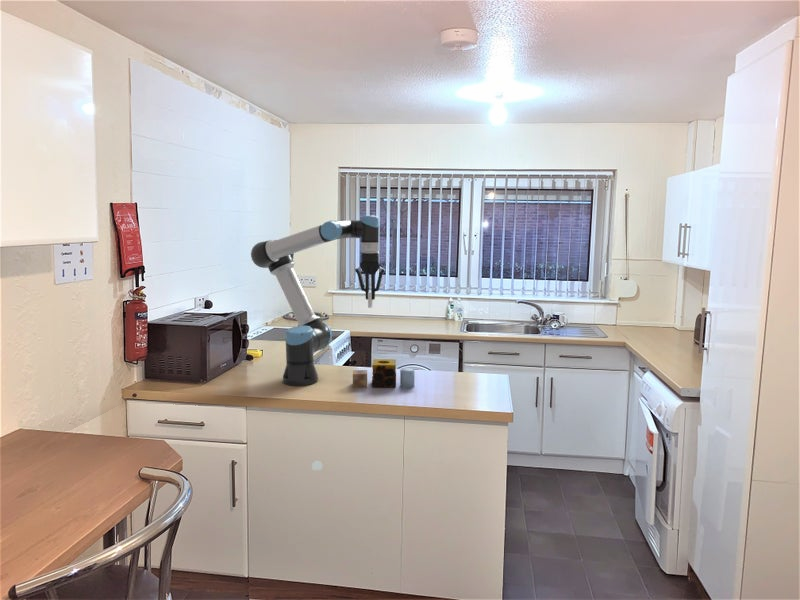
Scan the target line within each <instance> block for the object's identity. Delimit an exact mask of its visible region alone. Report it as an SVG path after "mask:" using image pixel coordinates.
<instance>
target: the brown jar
mask: <svg viewBox="0 0 800 600" xmlns="http://www.w3.org/2000/svg"><path fill="white" fill-rule="evenodd" d="M359 388H360V389H363V388H365V389H367V388H368V370H367V369H360V370H359V369H356V370H355V369H353V370H352V389H359Z"/></svg>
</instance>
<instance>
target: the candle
mask: <svg viewBox="0 0 800 600" xmlns="http://www.w3.org/2000/svg"><path fill="white" fill-rule="evenodd" d="M396 361H397V360H396V359H392V358H389V359H388V358H381V359H379V358H378V359H377V358H375V359H373V360H372V366H371V367H372V375H371V377H372V378H371V387H372V388H375V389H376V388H377V389H379V388H381V389H383V388H386V389H387V388H388V389H389V388H391V389H395V388H397V370H396V369H397V368H396V365H397V364H396Z"/></svg>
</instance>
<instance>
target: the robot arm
mask: <svg viewBox="0 0 800 600" xmlns="http://www.w3.org/2000/svg"><path fill="white" fill-rule="evenodd" d="M379 224H380V223H379V217H378V216H377V215H361V216H360V219H359V220H357V219H354V220H353V219H347V220H346V219H338V220H329V221H325V222H324V223H323V224H320V225H317V226H315V227H312V228H311V227H310V228H309V229H306V230H302V231H299V232H296V233H294V234H293V233H292V234H291V235H289V236H285V237H282V238H279V239H274V240H273V239H269V240H266V241H260V242H258V243H256V244H254V246H253V247H252V249H251V250H250V251H251V252H250V257H251V261H252V262H253V264H254V265H256V266H257V267H259V268H263V269H266V268H267V269H268V271H269V273H270V274H271V275H273V276H275V277H276V280H277V281H278V284H279V287H280V288H281V290H282V292H283V293H284V296H285V298H286V300H287V302H288V304H289V307H290V309H291V311H292V313H293V315H294V318H295V319H296V322H297V326H292V327H291V328H287V330H286V333H285V339H284V340H285V356H286V357H285V358H286V359H285V361H286V365H285V367H284V370H283V371H284V372H283V375H282V383H284V384H285V385H288V386H296V387H297V386H310V385H314V384H315V383H317V382H318V381H319V375H318V371H317V369H316V366H315V363H314V361H315V360H314V353H317V352H319V351H322V350H323V349H325V348H327V347H328V346H329V345H330V344H331V343H332V339H333V331H332V329H331V327H330V326H329V324H326V323H325V322H323V320H322V318H321V317H320V316H319V315H316V313H315V311H314V309H313V307H312V305H311V303H310V300H309V299H308V297H307V295H306V292H305V290H304V287H303V285H302V284H301V281H300V280H299V277H298V276H297V273H296V271H295V269H294V266H295V261H294V255H295V254H296V253H298V252H302V251H304V250H308V249H310V248H314V247H317V246H319V245H322V244H325V243H329V242H332V241H335V240H340V239H341V240H342V239H360V240H361V241H360V248H361V249H360V250H361V251H360V252H361V253H360V265H359V266H358V267H356V268H355V269H354V271H355V273H356V274H357V278H358V281H359V286H360V290H361V291H362V292H365V300H366V301H367V307H368V309H369V308H371V309H372V308H373V300H374V301H375V299H376V292H378V291H379V290H380V287H381V283H382V280H383V274H384V272H386V268H383V267H381V264H380V254H379V252H380V251H379V250H380V246H379V245H380V243H379V242H380V239H379V237H380V225H379ZM377 271H378V272H379V273H378V278H377V282H376V274H377ZM362 272H363V273H364V279H365V281H364V279H363V274H362ZM370 280H371V281H370ZM364 282H365V284H364ZM370 283H371V285H370ZM370 287H371V288H370ZM370 289H371V290H370Z"/></svg>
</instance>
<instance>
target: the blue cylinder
mask: <svg viewBox="0 0 800 600" xmlns="http://www.w3.org/2000/svg"><path fill="white" fill-rule="evenodd" d="M399 371H400V373H399V374H400V376H399V377H400V379H399V382H400V383H399V385H400V388H403V389H413V388H415V373H416V372H415V368H409V367H406V368H401V369H399Z"/></svg>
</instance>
